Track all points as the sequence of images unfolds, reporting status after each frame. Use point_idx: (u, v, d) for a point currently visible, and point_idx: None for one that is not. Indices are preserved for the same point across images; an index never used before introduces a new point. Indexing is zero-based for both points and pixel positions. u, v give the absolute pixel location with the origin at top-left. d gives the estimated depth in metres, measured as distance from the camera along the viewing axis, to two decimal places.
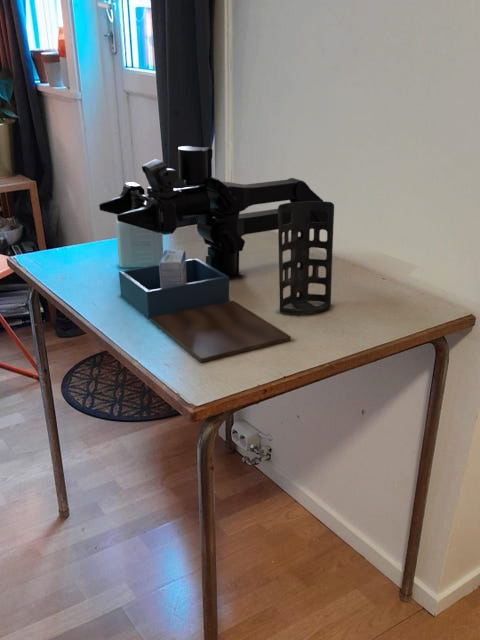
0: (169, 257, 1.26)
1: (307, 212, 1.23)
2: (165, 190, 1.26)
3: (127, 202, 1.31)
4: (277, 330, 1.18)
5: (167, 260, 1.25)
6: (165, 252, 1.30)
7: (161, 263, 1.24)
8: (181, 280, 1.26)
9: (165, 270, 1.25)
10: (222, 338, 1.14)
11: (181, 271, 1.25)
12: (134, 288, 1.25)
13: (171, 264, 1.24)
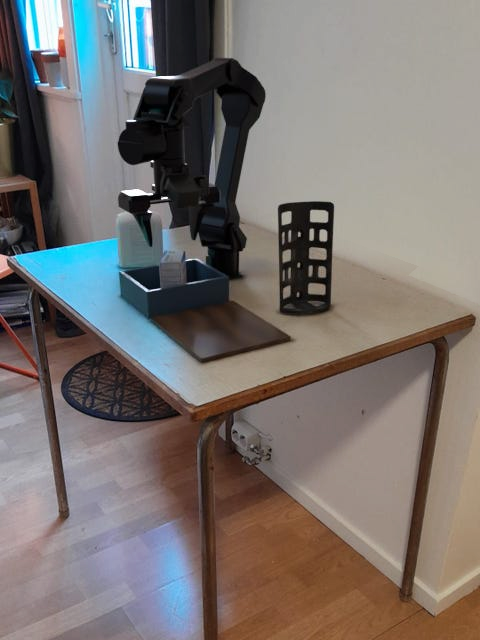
0: (169, 257, 1.26)
1: (307, 212, 1.23)
2: None
3: None
4: (277, 330, 1.18)
5: (167, 260, 1.25)
6: (165, 252, 1.30)
7: (161, 263, 1.24)
8: (181, 280, 1.26)
9: (165, 270, 1.25)
10: (222, 338, 1.14)
11: (181, 271, 1.25)
12: (134, 288, 1.25)
13: (171, 264, 1.24)
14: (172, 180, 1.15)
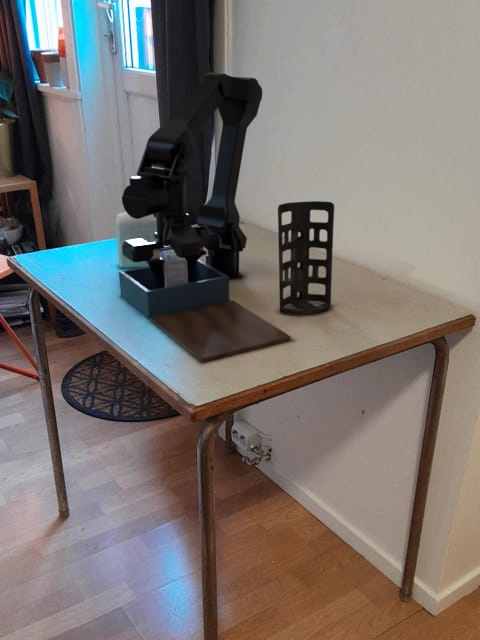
0: (171, 257, 1.27)
1: (307, 212, 1.23)
2: None
3: None
4: (277, 330, 1.18)
5: (171, 260, 1.25)
6: (162, 252, 1.29)
7: (167, 263, 1.24)
8: (186, 278, 1.27)
9: (170, 270, 1.25)
10: (222, 338, 1.14)
11: (186, 269, 1.26)
12: (134, 288, 1.25)
13: (177, 264, 1.25)
14: (174, 231, 1.20)
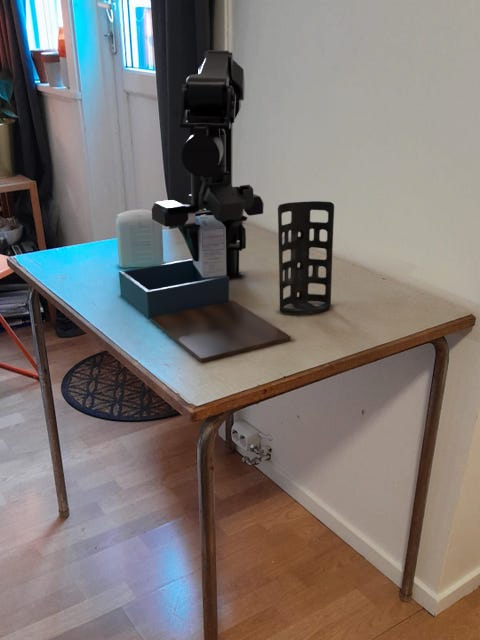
0: (207, 223, 1.10)
1: (307, 212, 1.23)
2: None
3: None
4: (277, 330, 1.18)
5: (208, 225, 1.09)
6: (195, 218, 1.13)
7: (203, 229, 1.08)
8: (224, 247, 1.11)
9: (207, 238, 1.09)
10: (222, 338, 1.14)
11: (225, 237, 1.10)
12: (134, 288, 1.25)
13: (214, 230, 1.09)
14: (213, 190, 1.04)
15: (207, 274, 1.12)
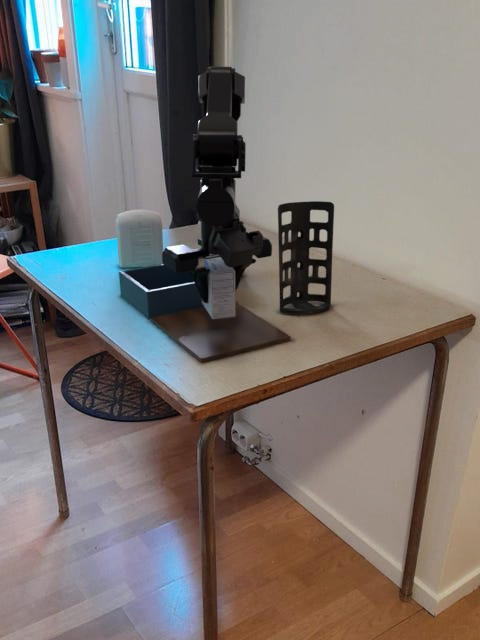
0: (216, 266, 1.12)
1: (307, 212, 1.23)
2: None
3: None
4: (277, 330, 1.18)
5: (217, 269, 1.10)
6: (205, 260, 1.15)
7: (213, 273, 1.09)
8: (234, 290, 1.12)
9: (216, 281, 1.10)
10: (222, 338, 1.14)
11: (234, 280, 1.11)
12: (134, 288, 1.25)
13: (224, 273, 1.10)
14: (223, 237, 1.05)
15: (216, 316, 1.14)
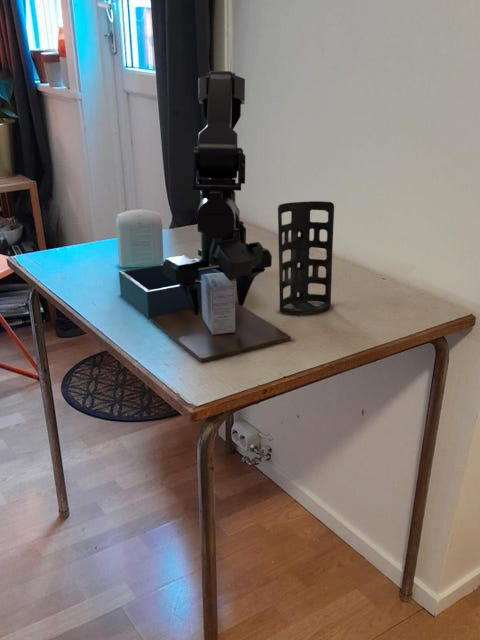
0: (216, 282, 1.13)
1: (307, 212, 1.23)
2: None
3: None
4: (277, 330, 1.18)
5: (218, 286, 1.12)
6: (205, 276, 1.16)
7: (213, 290, 1.11)
8: (234, 306, 1.14)
9: (216, 297, 1.12)
10: (222, 338, 1.14)
11: (234, 296, 1.13)
12: (134, 288, 1.25)
13: (224, 290, 1.12)
14: (223, 248, 1.06)
15: (217, 331, 1.15)
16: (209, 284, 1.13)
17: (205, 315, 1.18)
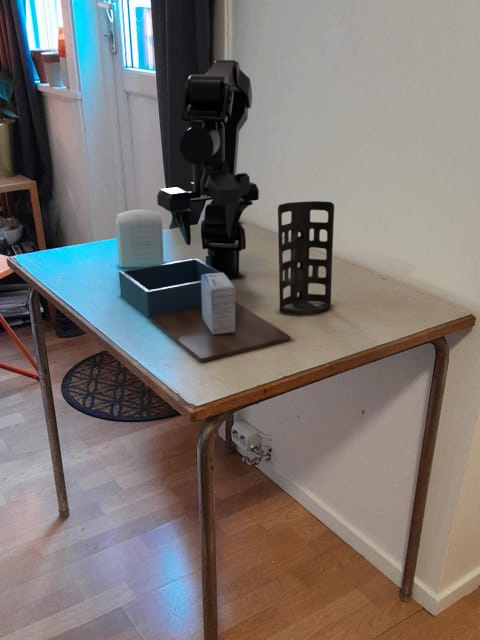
0: (216, 282, 1.13)
1: (307, 212, 1.23)
2: None
3: None
4: (277, 330, 1.18)
5: (218, 286, 1.12)
6: (205, 276, 1.16)
7: (213, 290, 1.11)
8: (234, 306, 1.14)
9: (216, 297, 1.12)
10: (222, 338, 1.14)
11: (234, 296, 1.13)
12: (134, 288, 1.25)
13: (224, 290, 1.12)
14: (213, 178, 1.15)
15: (217, 331, 1.15)
16: (209, 284, 1.13)
17: (205, 315, 1.18)
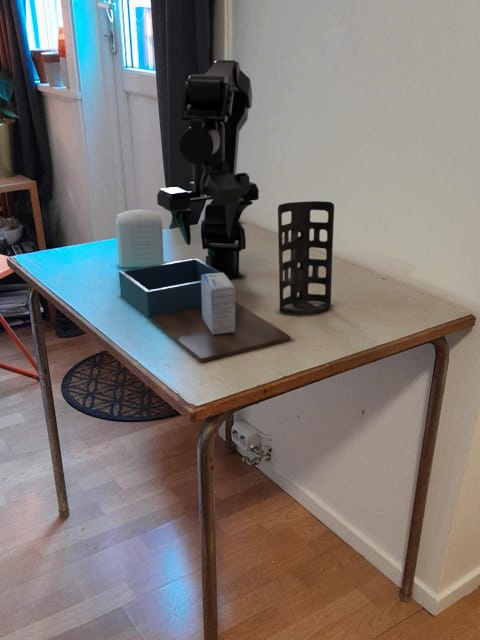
0: (216, 282, 1.13)
1: (307, 212, 1.23)
2: None
3: None
4: (277, 330, 1.18)
5: (218, 286, 1.12)
6: (205, 276, 1.16)
7: (213, 290, 1.11)
8: (234, 306, 1.14)
9: (216, 297, 1.12)
10: (222, 338, 1.14)
11: (234, 296, 1.13)
12: (134, 288, 1.25)
13: (224, 290, 1.12)
14: (213, 177, 1.15)
15: (217, 331, 1.15)
16: (209, 284, 1.13)
17: (205, 315, 1.18)
